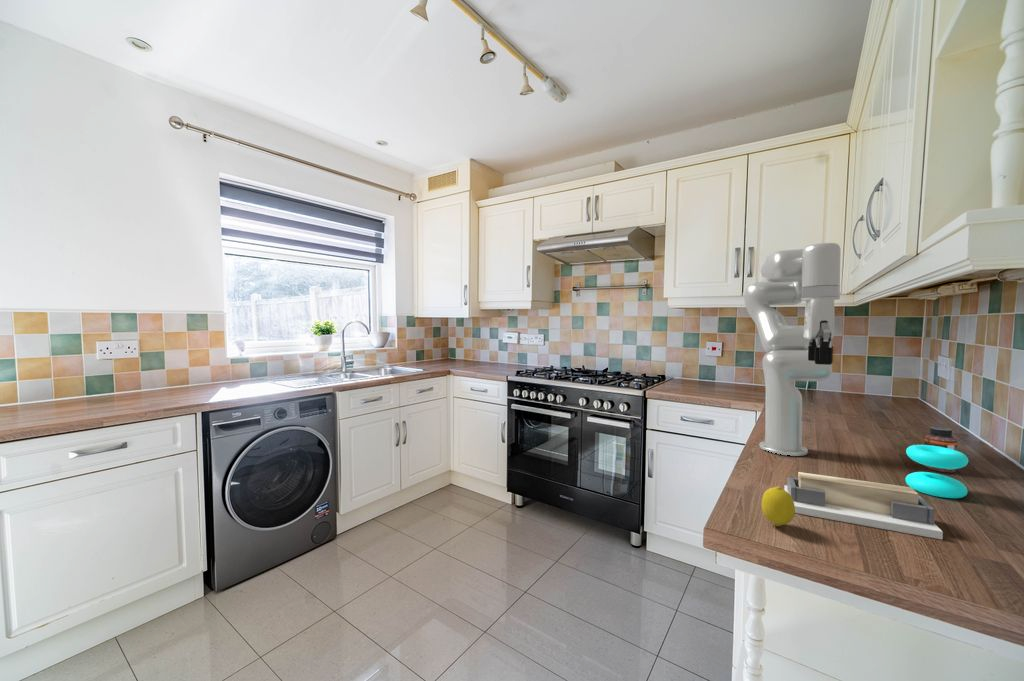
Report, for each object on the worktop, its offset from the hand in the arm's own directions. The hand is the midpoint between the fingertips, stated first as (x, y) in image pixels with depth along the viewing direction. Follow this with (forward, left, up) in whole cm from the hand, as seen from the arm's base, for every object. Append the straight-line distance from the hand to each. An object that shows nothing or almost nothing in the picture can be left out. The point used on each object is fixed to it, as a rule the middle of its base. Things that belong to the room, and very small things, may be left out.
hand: (819, 362), depth 99 cm
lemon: (+31, -11, -31) cm, 45 cm away
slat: (+17, +4, -29) cm, 34 cm away
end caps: (+17, +4, -29) cm, 34 cm away
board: (+17, +4, -30) cm, 35 cm away
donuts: (-5, +23, -31) cm, 39 cm away
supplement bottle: (-24, +30, -31) cm, 49 cm away
